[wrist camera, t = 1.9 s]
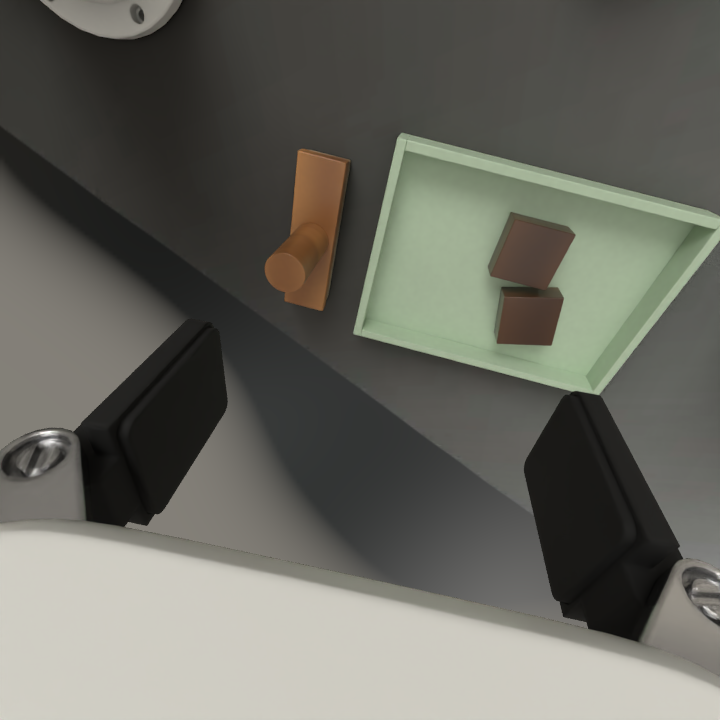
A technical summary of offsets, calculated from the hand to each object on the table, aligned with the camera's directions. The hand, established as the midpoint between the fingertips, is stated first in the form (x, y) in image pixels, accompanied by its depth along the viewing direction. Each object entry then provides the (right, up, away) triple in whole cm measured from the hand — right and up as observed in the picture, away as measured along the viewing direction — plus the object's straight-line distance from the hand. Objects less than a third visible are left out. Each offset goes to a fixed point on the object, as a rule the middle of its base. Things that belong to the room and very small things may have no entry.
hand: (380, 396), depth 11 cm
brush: (-4, +11, +19) cm, 22 cm away
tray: (+10, +8, +18) cm, 22 cm away
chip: (+12, +5, +19) cm, 23 cm away
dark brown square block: (+11, +9, +16) cm, 22 cm away
